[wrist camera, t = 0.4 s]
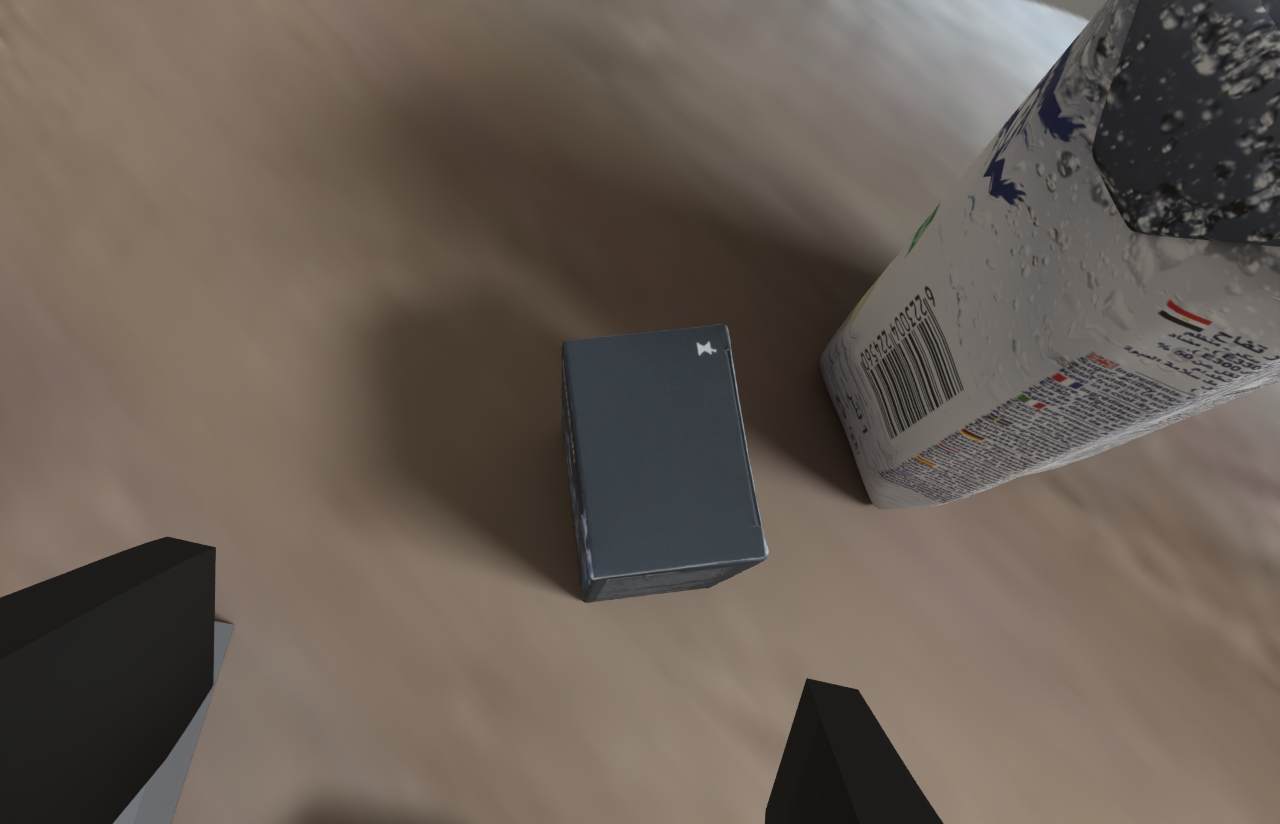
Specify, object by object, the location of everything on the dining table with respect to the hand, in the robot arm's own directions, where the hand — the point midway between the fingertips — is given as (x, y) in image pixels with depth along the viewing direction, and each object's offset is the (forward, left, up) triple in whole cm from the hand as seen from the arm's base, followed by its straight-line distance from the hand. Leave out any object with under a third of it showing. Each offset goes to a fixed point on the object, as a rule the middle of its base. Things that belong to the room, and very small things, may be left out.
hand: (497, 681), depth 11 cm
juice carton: (+15, -15, -26) cm, 34 cm away
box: (+8, -3, -27) cm, 28 cm away
